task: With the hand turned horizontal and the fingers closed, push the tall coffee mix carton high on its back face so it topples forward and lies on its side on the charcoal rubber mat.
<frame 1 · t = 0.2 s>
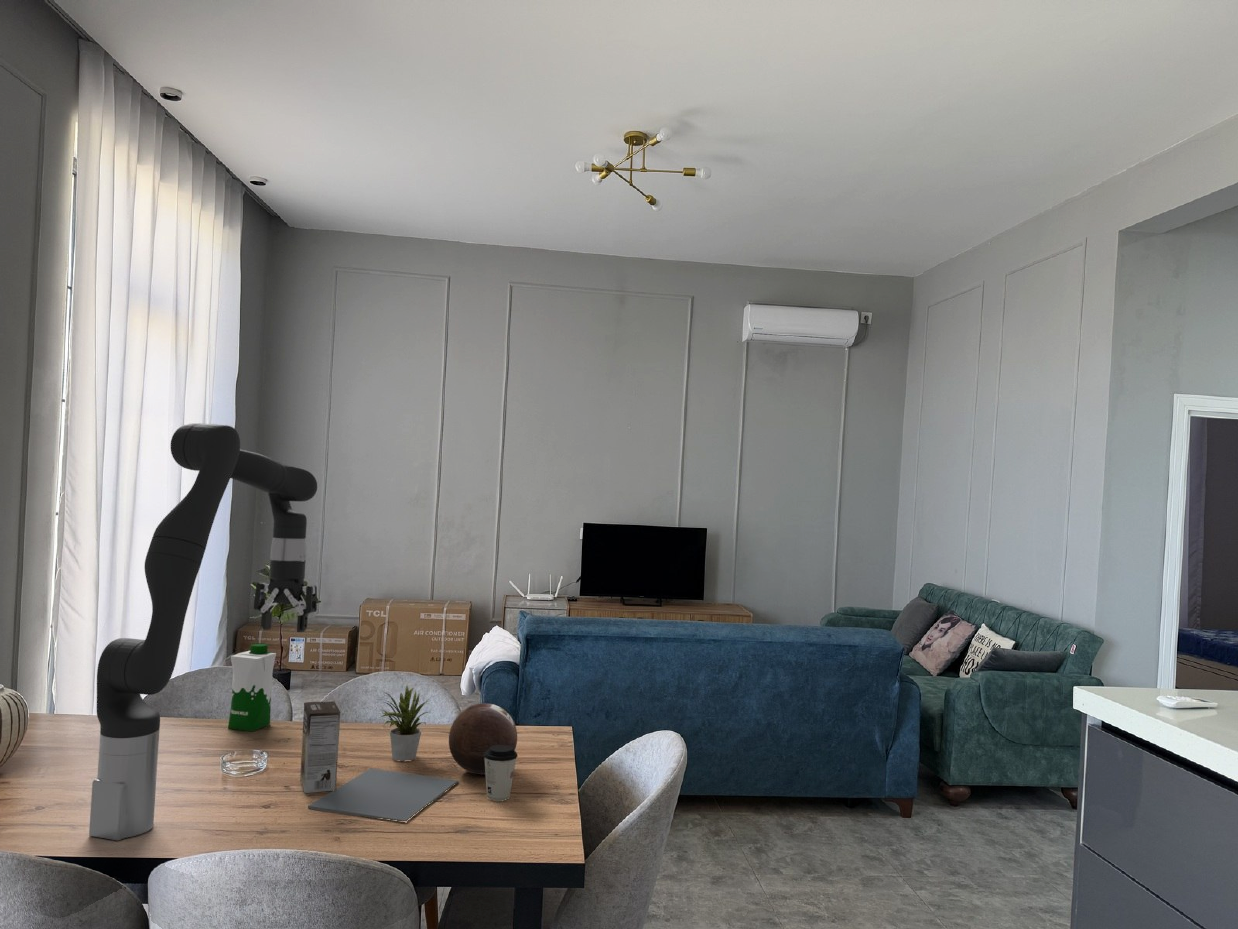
hand: (283, 630, 199), 28 cm above the table, tool pointing down, fingers open, 8 cm apart
rubber mat: (386, 795, 179), on the table
milk carton: (248, 727, 221), on the table
house plant: (400, 757, 204), on the table
coffee cup: (498, 798, 181), on the table
wooden sphere: (481, 773, 196), on the table
coffee box: (317, 786, 183), on the table
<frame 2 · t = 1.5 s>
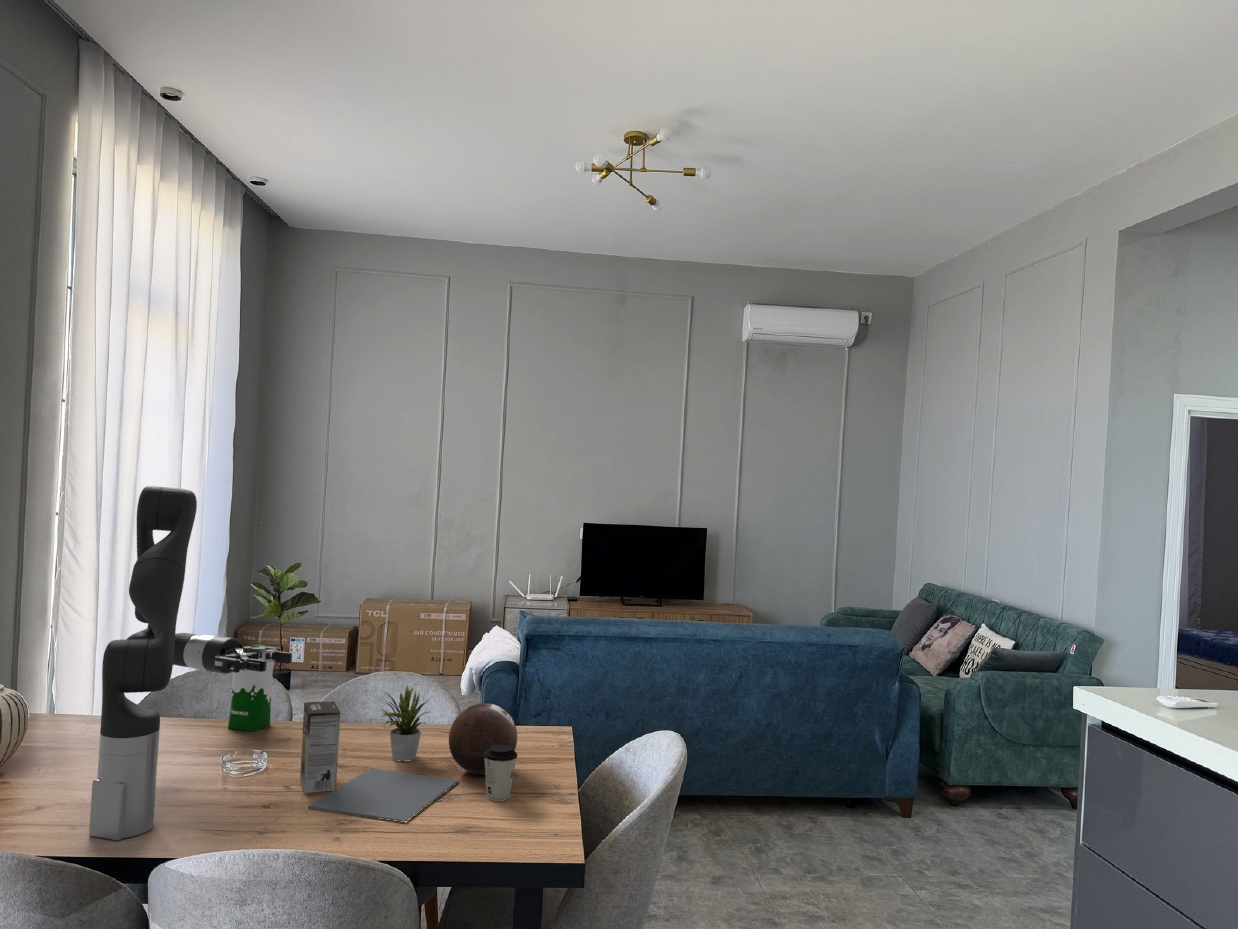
hand: (278, 662, 186), 24 cm above the table, tool horizontal, fingers open, 8 cm apart
nothing on the table moved.
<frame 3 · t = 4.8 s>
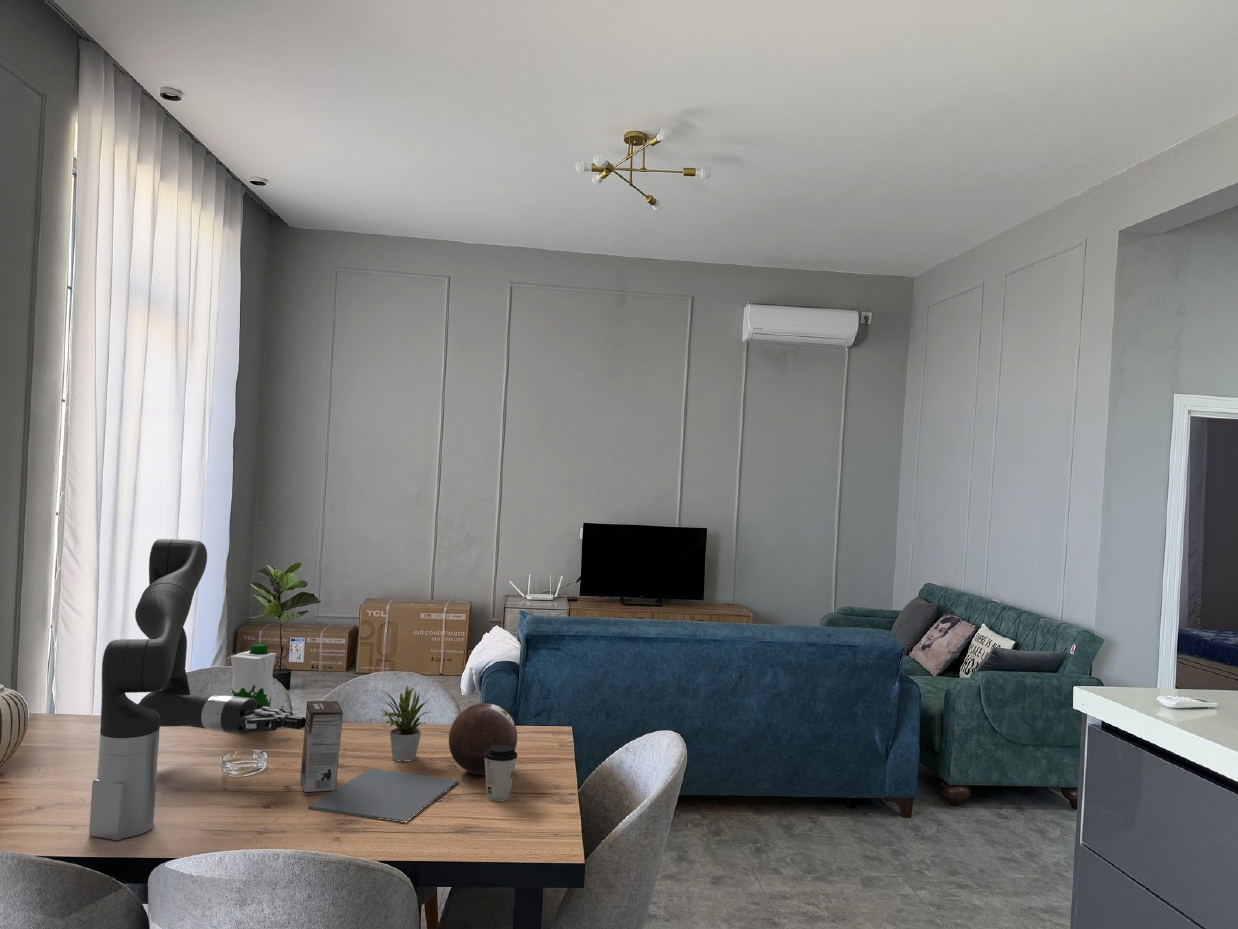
hand: (303, 723, 184), 12 cm above the table, tool horizontal, fingers closed
nothing on the table moved.
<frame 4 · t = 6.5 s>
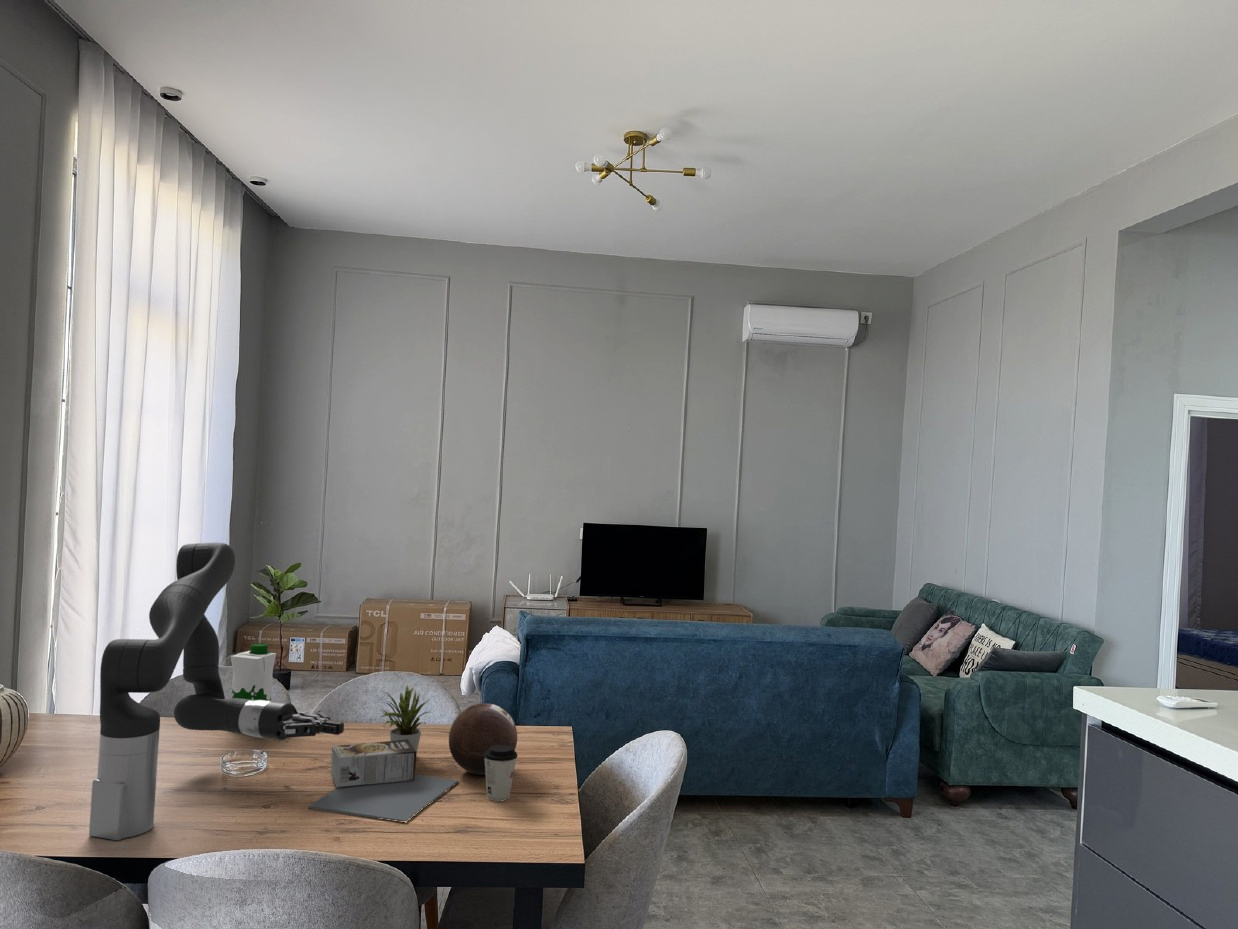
hand: (341, 728, 182), 12 cm above the table, tool horizontal, fingers closed
coffee box: (333, 766, 183), point 4 cm above the table, touching rubber mat
everything else where it was.
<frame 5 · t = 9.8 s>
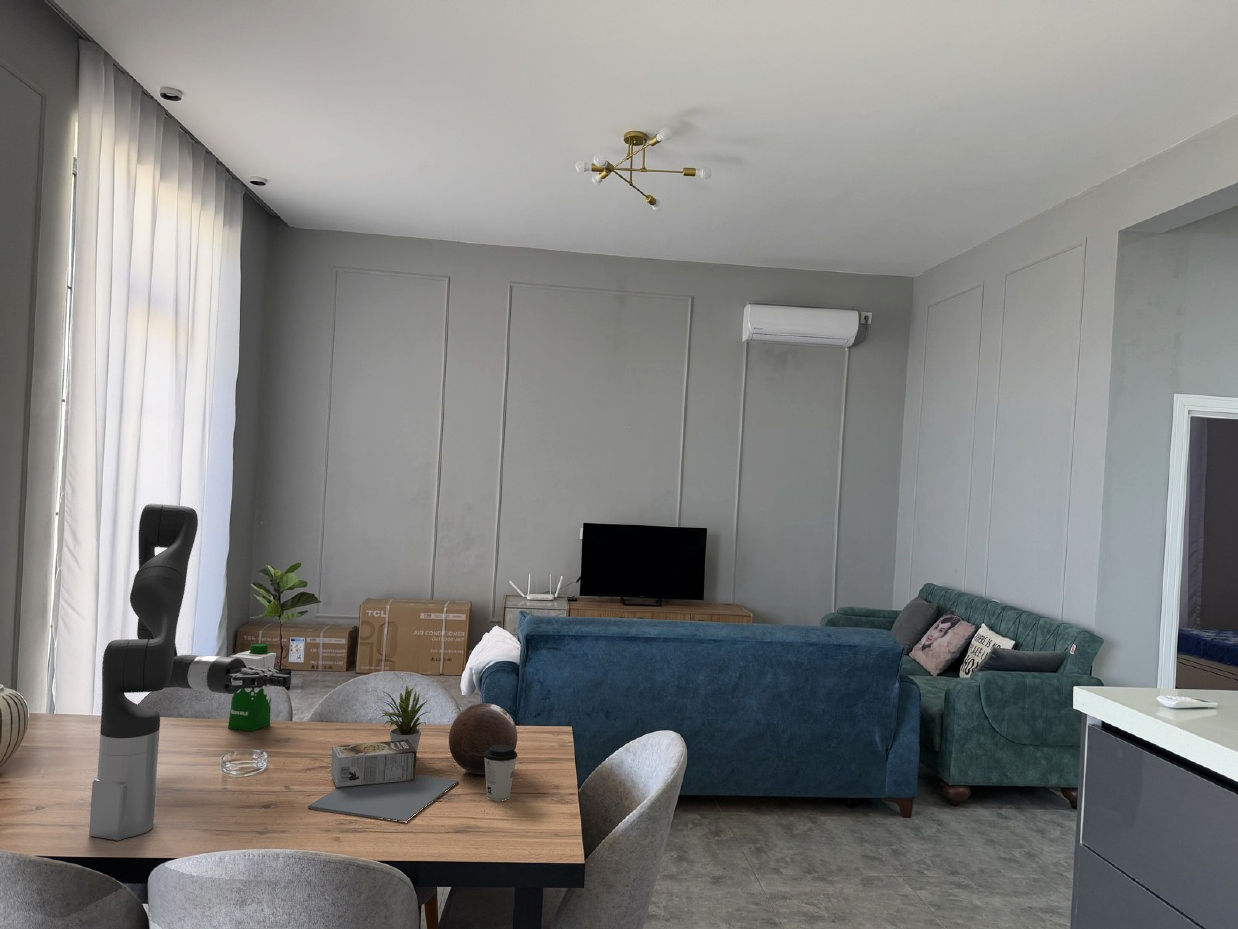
hand: (289, 681, 185), 20 cm above the table, tool horizontal, fingers closed
nothing on the table moved.
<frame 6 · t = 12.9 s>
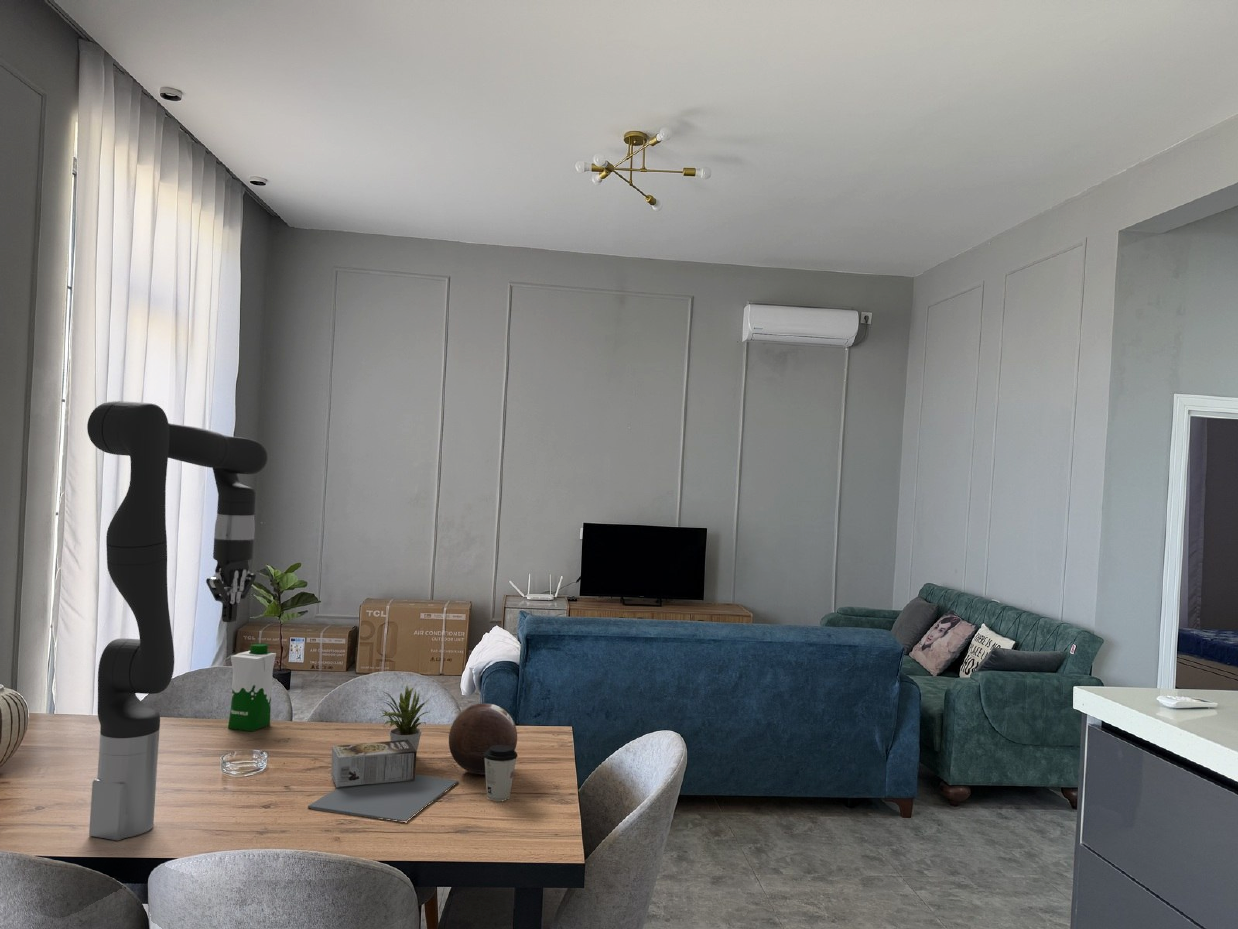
hand: (229, 621, 181), 33 cm above the table, tool pointing down, fingers closed
nothing on the table moved.
at the end: coffee box tilted 90°; coffee box inside the target area (2.7 cm from its centre), point 3.7 cm above the table; coffee box touching rubber mat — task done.
